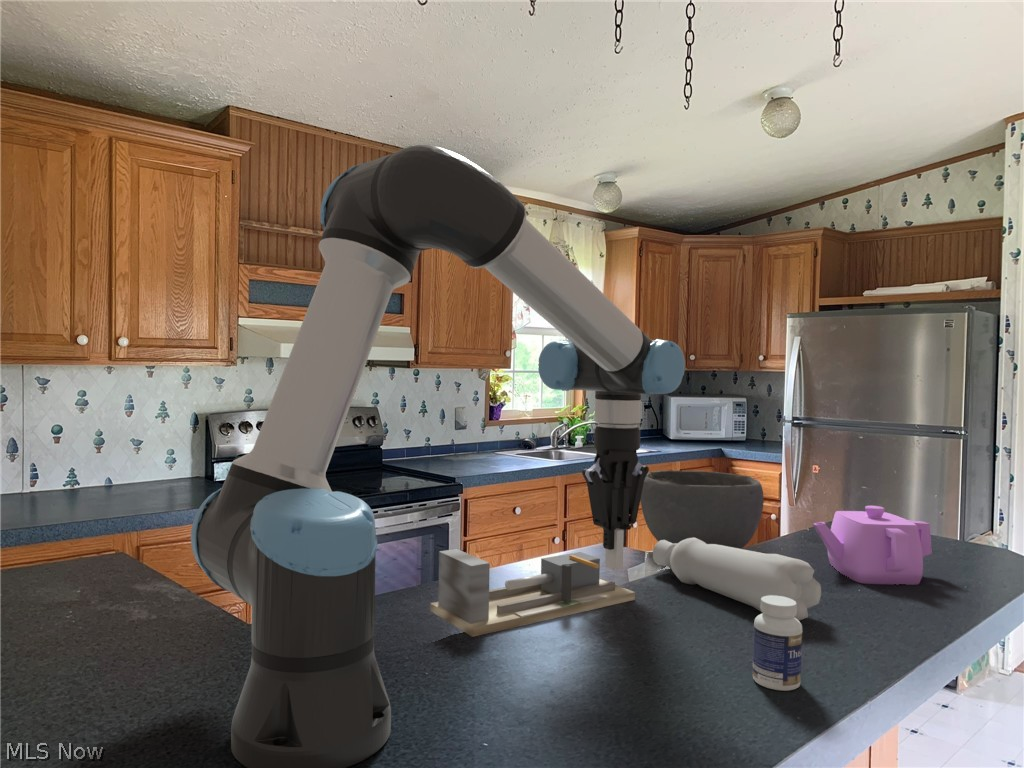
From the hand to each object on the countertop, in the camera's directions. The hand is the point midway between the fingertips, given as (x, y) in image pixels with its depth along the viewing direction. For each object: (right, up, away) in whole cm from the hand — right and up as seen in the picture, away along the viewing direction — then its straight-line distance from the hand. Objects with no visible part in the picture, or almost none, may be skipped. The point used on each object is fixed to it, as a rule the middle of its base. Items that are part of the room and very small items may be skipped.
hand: (613, 567), depth 122 cm
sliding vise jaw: (-10, -2, -9) cm, 14 cm away
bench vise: (-13, -4, -9) cm, 16 cm away
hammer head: (-9, -2, -12) cm, 15 cm away
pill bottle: (+14, -5, -35) cm, 38 cm away
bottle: (+18, -4, -2) cm, 19 cm away
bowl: (+21, -3, +27) cm, 34 cm away
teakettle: (+48, -4, +13) cm, 50 cm away
